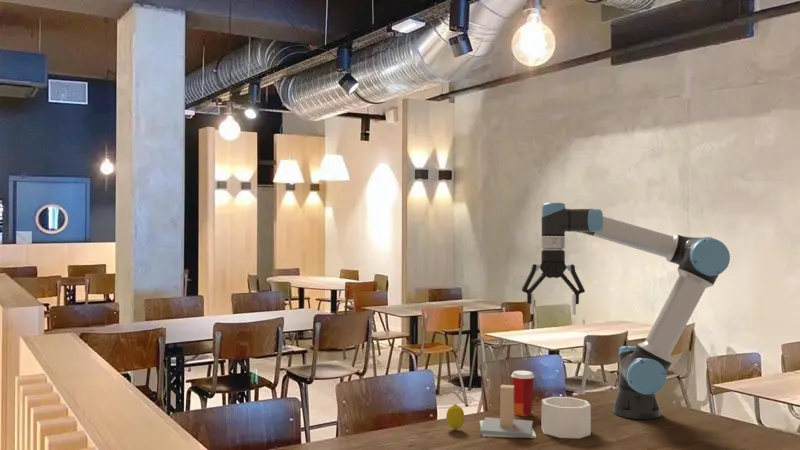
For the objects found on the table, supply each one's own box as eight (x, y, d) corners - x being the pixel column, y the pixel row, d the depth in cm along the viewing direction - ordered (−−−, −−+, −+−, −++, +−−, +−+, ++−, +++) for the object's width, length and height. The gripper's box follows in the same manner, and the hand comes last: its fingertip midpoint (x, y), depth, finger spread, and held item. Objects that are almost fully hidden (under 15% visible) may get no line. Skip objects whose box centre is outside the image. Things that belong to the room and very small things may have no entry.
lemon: (452, 433, 211) (452, 407, 211) (442, 429, 216) (443, 403, 216) (467, 431, 214) (467, 405, 214) (458, 426, 219) (458, 401, 219)
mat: (529, 423, 224) (529, 421, 224) (536, 438, 208) (536, 436, 208) (479, 422, 225) (479, 420, 225) (482, 436, 209) (482, 434, 209)
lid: (532, 423, 221) (532, 382, 221) (530, 437, 206) (531, 393, 207) (485, 420, 224) (485, 380, 225) (480, 433, 210) (480, 390, 210)
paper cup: (533, 411, 239) (533, 370, 239) (535, 417, 231) (535, 375, 232) (509, 410, 240) (510, 369, 240) (511, 416, 232) (511, 374, 232)
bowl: (584, 425, 221) (584, 397, 222) (593, 438, 207) (593, 408, 208) (539, 424, 222) (539, 396, 222) (545, 437, 208) (546, 407, 208)
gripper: (516, 249, 227) (515, 314, 226) (594, 250, 225) (593, 315, 225) (513, 249, 234) (513, 312, 234) (589, 249, 233) (588, 313, 232)
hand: (552, 314), depth 229 cm, fingers open, 13 cm apart
